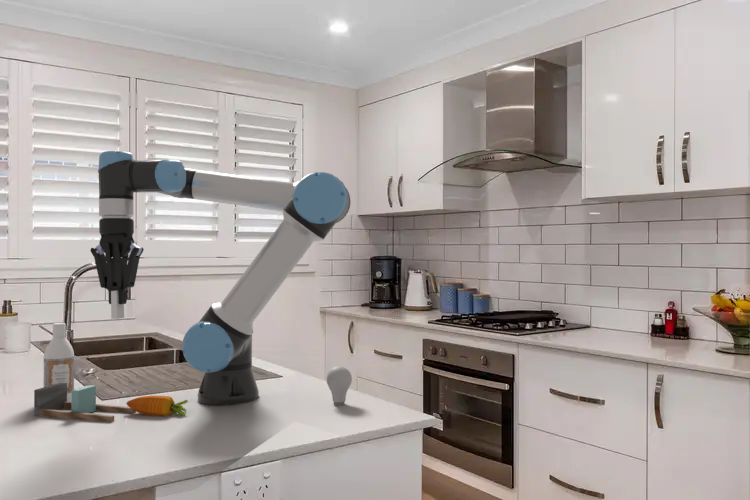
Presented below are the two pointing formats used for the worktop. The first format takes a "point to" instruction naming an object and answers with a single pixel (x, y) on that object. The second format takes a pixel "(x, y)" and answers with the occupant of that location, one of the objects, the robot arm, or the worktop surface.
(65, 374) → the bath foam
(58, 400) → the track
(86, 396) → the cap
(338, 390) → the lightbulb
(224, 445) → the worktop surface
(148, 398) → the carrot
